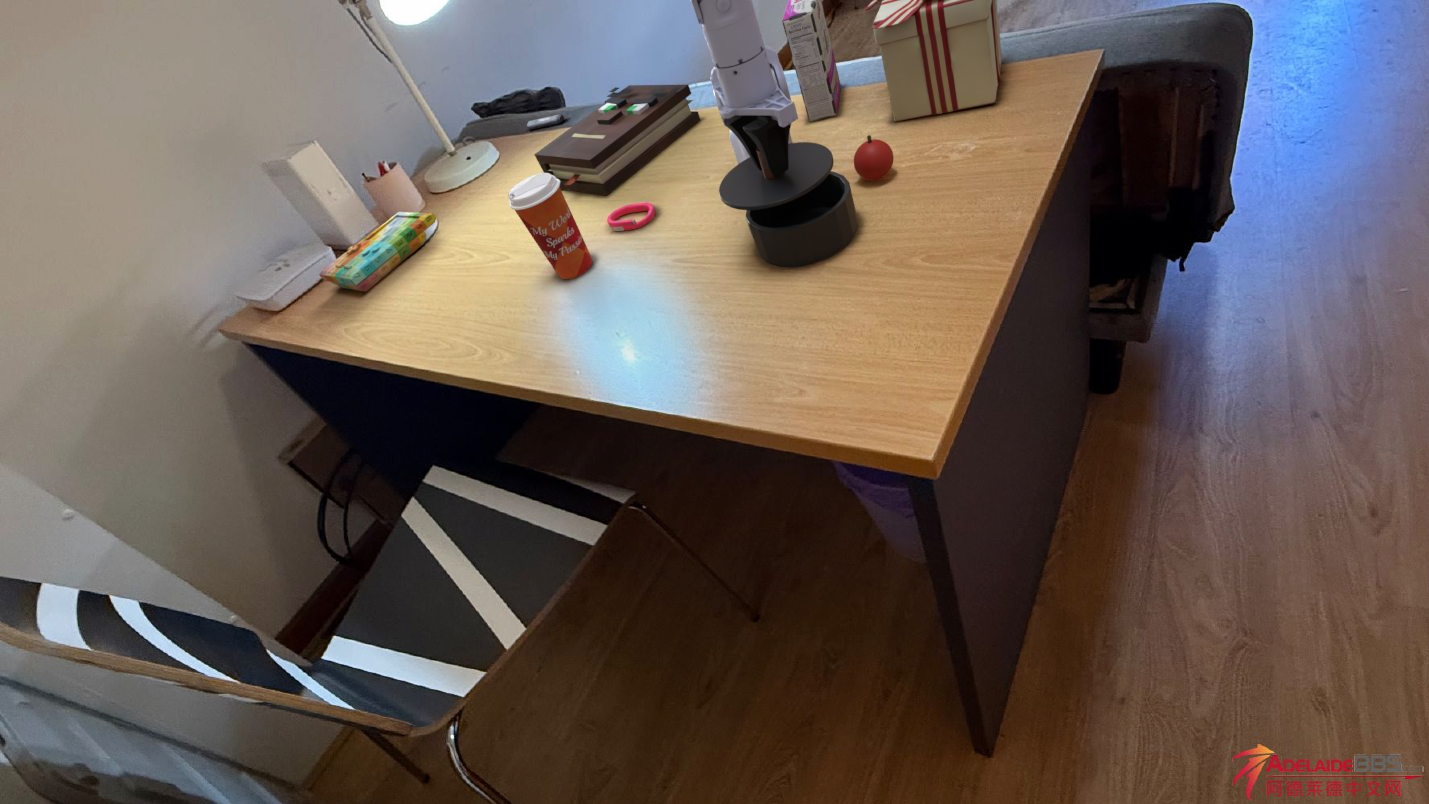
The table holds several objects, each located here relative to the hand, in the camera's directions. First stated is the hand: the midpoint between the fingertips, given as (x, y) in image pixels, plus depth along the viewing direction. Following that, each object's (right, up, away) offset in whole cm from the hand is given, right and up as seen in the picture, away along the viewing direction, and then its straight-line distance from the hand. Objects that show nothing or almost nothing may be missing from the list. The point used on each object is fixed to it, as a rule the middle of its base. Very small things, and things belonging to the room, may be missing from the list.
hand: (773, 169), depth 86 cm
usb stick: (-45, +34, +75) cm, 93 cm away
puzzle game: (-68, -1, +49) cm, 84 cm away
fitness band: (-20, +1, +27) cm, 33 cm away
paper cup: (-28, -8, +22) cm, 36 cm away
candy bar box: (+11, +21, +33) cm, 41 cm away
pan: (+5, -6, +7) cm, 11 cm away
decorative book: (-23, +18, +47) cm, 56 cm away
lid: (0, -1, +1) cm, 1 cm away
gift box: (+27, +18, +22) cm, 39 cm away
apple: (+14, +4, +10) cm, 18 cm away
